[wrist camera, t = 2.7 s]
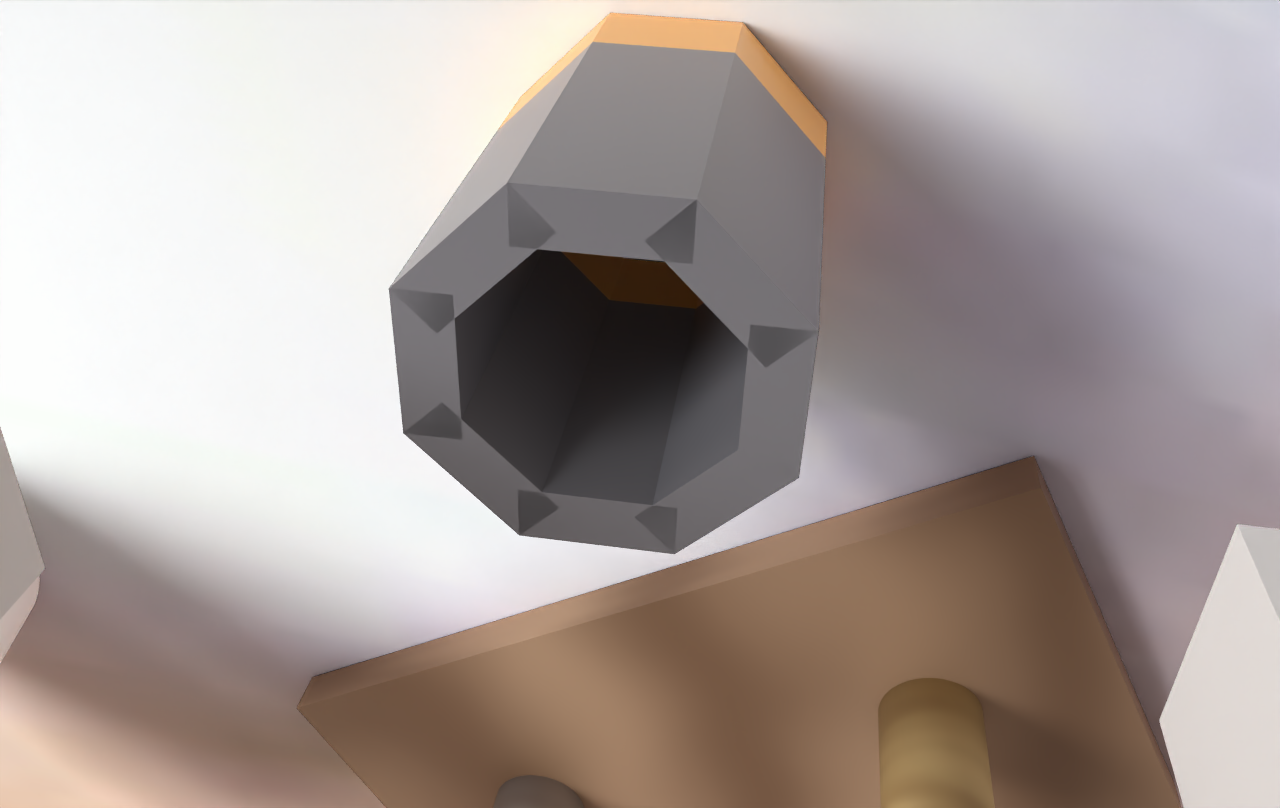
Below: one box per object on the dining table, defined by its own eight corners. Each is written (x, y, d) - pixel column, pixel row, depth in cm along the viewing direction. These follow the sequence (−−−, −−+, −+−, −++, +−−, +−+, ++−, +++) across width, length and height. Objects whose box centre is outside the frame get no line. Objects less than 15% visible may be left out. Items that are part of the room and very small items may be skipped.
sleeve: (518, 5, 19) (376, 170, 13) (838, 29, 19) (834, 211, 13) (525, 287, 22) (412, 522, 16) (802, 314, 22) (786, 567, 16)
